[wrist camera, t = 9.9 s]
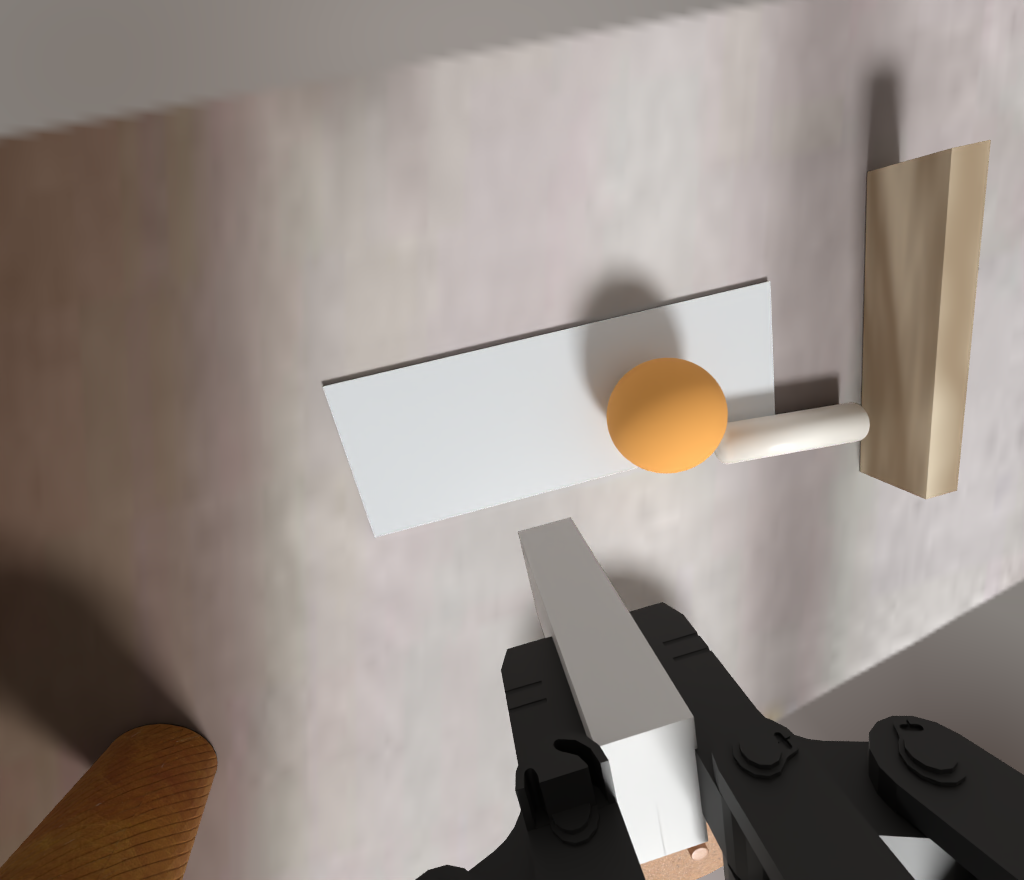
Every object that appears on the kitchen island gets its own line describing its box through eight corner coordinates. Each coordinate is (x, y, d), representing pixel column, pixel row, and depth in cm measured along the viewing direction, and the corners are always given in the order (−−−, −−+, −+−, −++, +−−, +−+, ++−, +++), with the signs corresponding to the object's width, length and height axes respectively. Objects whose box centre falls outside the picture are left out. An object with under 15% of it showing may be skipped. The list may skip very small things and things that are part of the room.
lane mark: (375, 536, 28) (374, 537, 28) (323, 386, 25) (322, 386, 25) (773, 430, 30) (775, 431, 30) (767, 281, 27) (770, 281, 27)
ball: (760, 405, 25) (661, 390, 30) (726, 336, 21) (618, 331, 26) (715, 505, 24) (618, 474, 29) (670, 452, 20) (567, 426, 25)
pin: (708, 426, 30) (833, 405, 31) (716, 464, 29) (841, 443, 30) (730, 421, 27) (864, 399, 28) (738, 463, 27) (873, 439, 28)
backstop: (860, 471, 32) (925, 499, 28) (867, 171, 26) (952, 148, 22) (887, 464, 32) (956, 490, 28) (900, 164, 26) (990, 139, 22)
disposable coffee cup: (243, 699, 30) (125, 952, 18) (246, 814, 32) (145, 1099, 21) (64, 703, 28) (-190, 986, 16) (83, 825, 30) (-125, 1142, 19)
